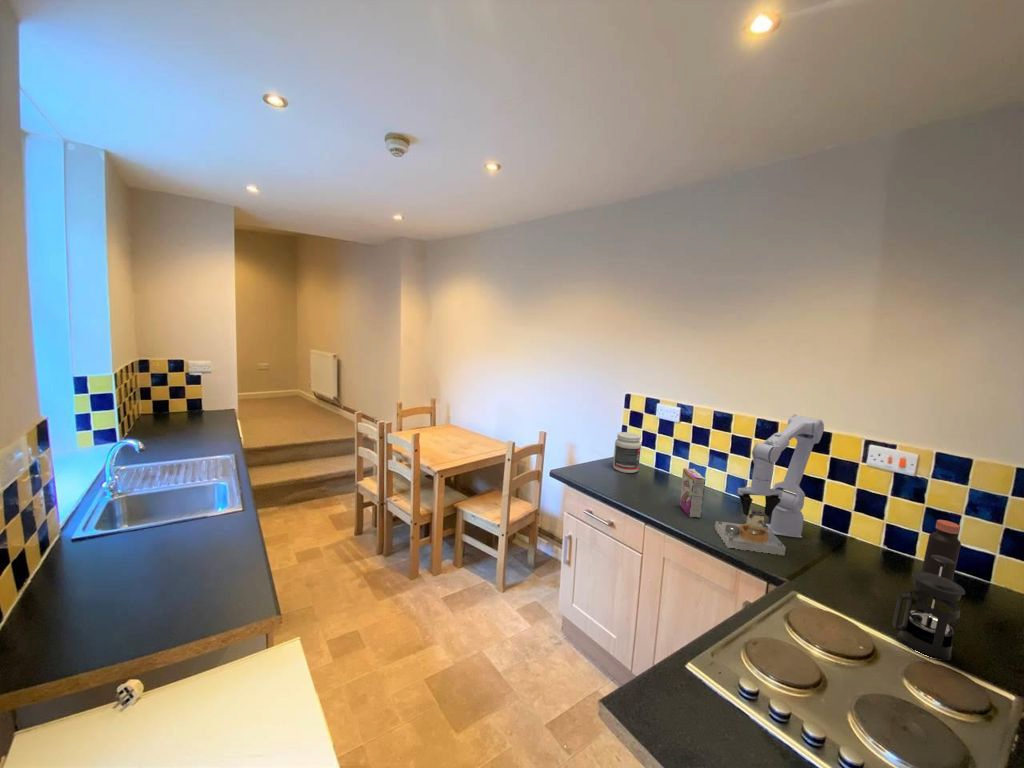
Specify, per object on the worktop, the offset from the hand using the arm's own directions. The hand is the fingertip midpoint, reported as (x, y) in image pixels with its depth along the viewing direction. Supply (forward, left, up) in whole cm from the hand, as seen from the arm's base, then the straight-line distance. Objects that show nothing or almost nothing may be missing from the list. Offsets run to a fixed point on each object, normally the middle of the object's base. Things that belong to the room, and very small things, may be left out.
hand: (756, 514), depth 149 cm
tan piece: (0, +1, -7) cm, 7 cm away
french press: (-22, +44, -10) cm, 51 cm away
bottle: (-47, +13, -10) cm, 50 cm away
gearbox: (+2, 0, -10) cm, 10 cm away
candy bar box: (+17, -20, -10) cm, 28 cm away
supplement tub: (+38, -64, -10) cm, 75 cm away
